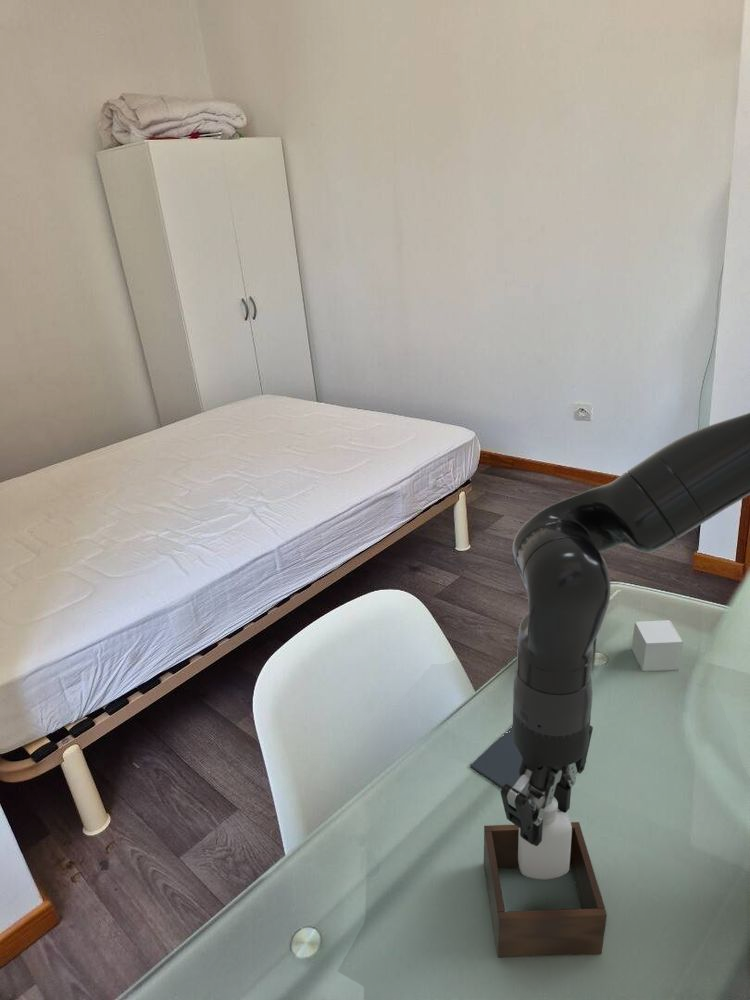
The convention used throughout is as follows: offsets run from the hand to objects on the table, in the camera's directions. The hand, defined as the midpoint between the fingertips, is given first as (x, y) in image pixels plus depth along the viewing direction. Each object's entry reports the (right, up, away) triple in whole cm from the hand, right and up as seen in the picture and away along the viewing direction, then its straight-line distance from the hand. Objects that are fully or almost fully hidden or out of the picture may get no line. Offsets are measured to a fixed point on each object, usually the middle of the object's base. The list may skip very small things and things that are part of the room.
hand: (545, 822), depth 76 cm
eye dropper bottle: (+1, -7, +3) cm, 8 cm away
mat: (+4, -3, +25) cm, 26 cm away
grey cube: (+30, +8, +44) cm, 54 cm away
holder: (+1, -13, +6) cm, 15 cm away
